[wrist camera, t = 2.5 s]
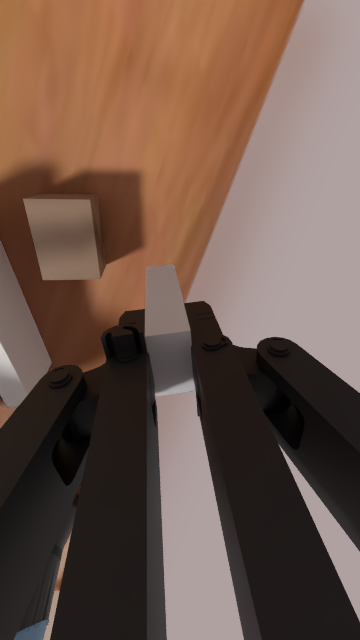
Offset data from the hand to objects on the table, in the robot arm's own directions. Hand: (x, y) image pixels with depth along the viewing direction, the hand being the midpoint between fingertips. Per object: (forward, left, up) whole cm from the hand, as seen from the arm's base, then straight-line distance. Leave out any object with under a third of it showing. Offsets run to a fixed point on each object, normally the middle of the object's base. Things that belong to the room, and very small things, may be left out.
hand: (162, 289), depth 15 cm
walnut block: (0, +9, -20) cm, 22 cm away
